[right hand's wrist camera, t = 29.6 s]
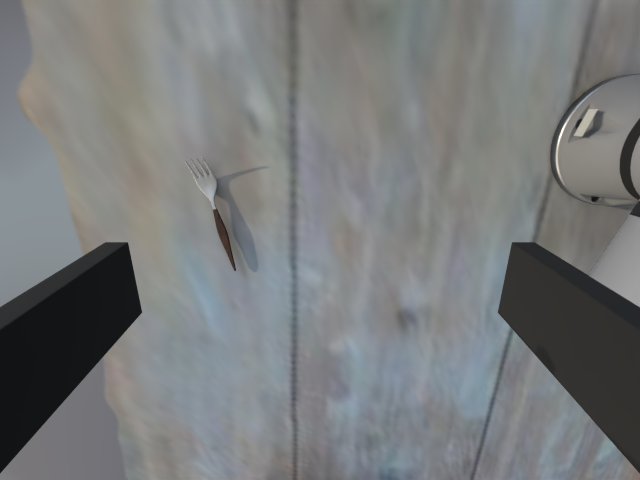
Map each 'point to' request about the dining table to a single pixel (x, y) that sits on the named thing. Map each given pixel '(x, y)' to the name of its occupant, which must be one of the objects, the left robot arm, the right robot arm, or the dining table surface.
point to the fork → (209, 189)
